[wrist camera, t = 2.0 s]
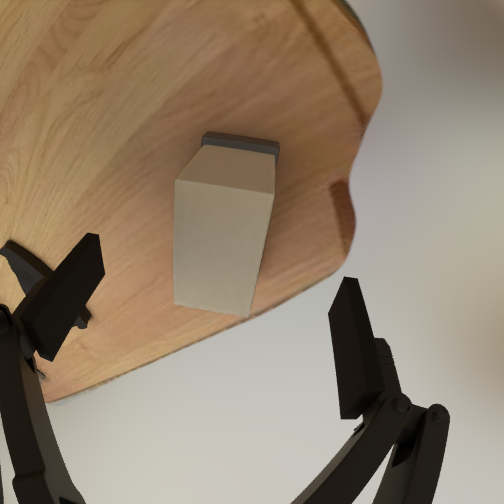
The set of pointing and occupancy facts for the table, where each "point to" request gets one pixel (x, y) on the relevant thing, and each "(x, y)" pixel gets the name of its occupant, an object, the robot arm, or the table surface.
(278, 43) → the table surface
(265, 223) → the blocks on grey base
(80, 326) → the curved wedge
